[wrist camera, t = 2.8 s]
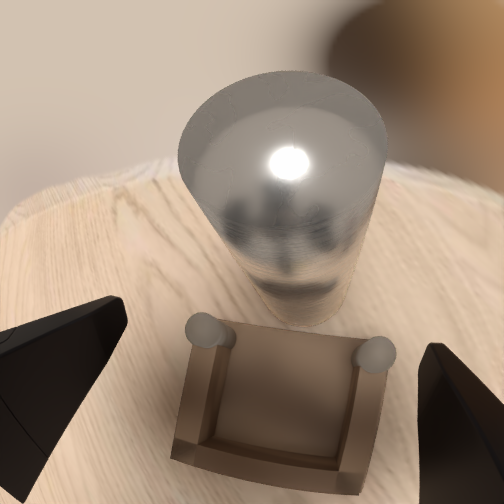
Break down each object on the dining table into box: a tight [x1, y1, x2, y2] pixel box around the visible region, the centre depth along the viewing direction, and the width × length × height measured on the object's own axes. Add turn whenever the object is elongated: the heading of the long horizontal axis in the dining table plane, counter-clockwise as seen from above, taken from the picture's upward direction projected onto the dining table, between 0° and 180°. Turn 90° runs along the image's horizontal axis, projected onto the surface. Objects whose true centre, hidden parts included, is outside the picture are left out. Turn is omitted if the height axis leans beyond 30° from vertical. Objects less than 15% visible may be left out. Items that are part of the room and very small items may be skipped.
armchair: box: [170, 312, 396, 495], centre depth 15 cm, size 10×12×5 cm
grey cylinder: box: [178, 71, 388, 327], centre depth 14 cm, size 6×6×14 cm
